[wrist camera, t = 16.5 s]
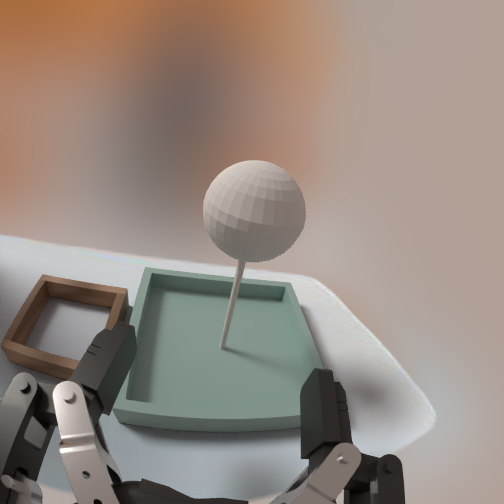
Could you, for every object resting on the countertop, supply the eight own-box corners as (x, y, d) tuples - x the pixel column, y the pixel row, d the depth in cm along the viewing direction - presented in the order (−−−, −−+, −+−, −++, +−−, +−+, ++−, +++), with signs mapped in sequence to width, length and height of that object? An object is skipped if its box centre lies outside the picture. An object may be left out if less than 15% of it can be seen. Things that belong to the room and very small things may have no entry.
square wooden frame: (9, 360, 14) (0, 345, 13) (46, 290, 22) (42, 274, 21) (107, 389, 16) (102, 375, 15) (128, 304, 24) (127, 288, 23)
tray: (118, 422, 14) (111, 407, 13) (145, 286, 27) (145, 267, 25) (325, 423, 17) (339, 409, 16) (284, 300, 30) (290, 282, 29)
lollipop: (183, 320, 23) (207, 144, 16) (246, 320, 25) (292, 159, 18) (190, 379, 18) (221, 169, 11) (265, 374, 20) (339, 189, 13)
